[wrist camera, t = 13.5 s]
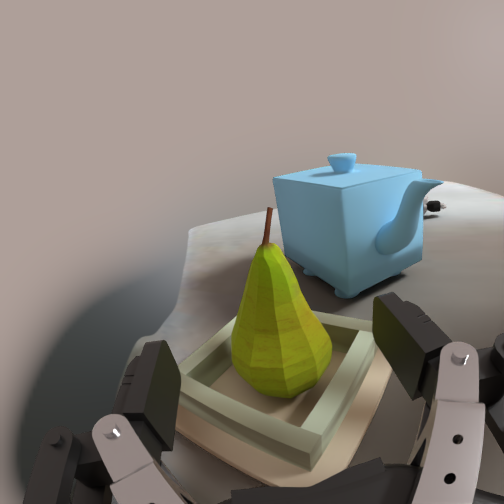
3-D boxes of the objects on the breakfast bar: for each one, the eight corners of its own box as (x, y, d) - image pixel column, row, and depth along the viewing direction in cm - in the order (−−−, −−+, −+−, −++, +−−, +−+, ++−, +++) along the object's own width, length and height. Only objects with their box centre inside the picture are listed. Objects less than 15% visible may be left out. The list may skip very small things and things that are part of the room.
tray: (258, 317, 28) (252, 287, 27) (400, 348, 20) (404, 313, 19) (152, 412, 18) (133, 382, 17) (322, 507, 10) (322, 490, 9)
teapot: (277, 261, 40) (260, 161, 35) (341, 238, 43) (331, 148, 38) (393, 344, 21) (397, 168, 16) (462, 292, 24) (470, 155, 19)
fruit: (223, 397, 18) (167, 232, 14) (268, 344, 23) (238, 197, 18) (308, 427, 15) (284, 235, 10) (343, 360, 19) (335, 194, 15)
